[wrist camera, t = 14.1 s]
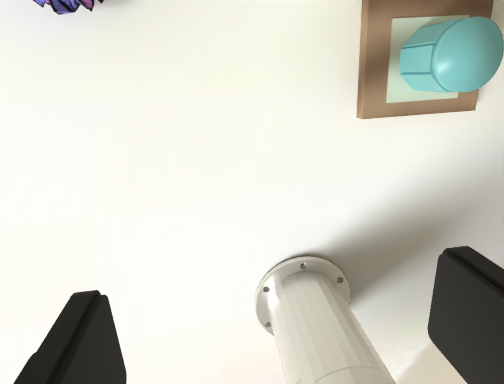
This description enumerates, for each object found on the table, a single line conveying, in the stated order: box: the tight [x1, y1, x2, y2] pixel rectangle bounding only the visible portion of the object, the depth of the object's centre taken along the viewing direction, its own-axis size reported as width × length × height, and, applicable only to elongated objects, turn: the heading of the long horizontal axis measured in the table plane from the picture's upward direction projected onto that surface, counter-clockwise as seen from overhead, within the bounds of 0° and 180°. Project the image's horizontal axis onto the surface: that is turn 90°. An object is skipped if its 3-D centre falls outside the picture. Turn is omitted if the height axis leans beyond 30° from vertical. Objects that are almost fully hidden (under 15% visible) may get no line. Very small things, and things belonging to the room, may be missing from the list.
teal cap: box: [399, 17, 504, 93], centre depth 31 cm, size 6×6×6 cm
